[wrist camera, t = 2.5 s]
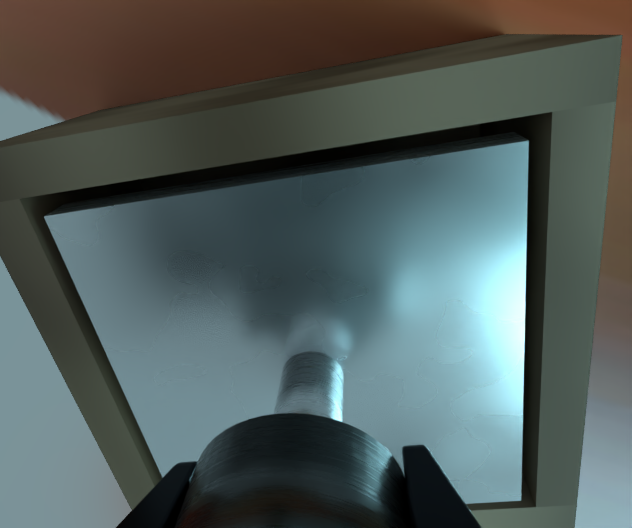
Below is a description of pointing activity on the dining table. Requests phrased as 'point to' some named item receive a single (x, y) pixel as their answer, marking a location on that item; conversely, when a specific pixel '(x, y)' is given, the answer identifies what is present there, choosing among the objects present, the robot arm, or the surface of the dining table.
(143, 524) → the robot arm
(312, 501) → the plunger
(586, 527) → the dining table surface
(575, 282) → the frame
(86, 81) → the dining table surface
